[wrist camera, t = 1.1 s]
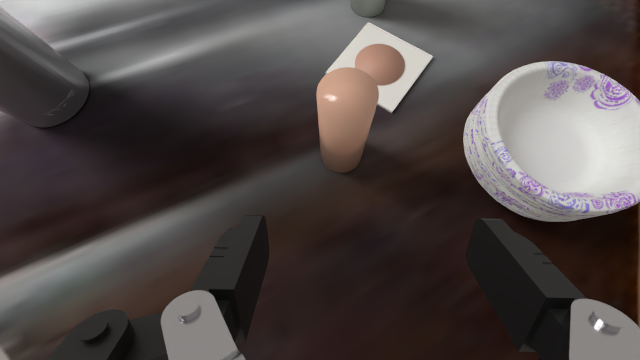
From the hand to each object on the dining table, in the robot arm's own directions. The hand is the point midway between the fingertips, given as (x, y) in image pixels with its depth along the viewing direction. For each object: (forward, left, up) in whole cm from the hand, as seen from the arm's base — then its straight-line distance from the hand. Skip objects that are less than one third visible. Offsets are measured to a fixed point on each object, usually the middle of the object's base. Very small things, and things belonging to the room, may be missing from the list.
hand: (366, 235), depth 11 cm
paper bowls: (+10, +21, -20) cm, 30 cm away
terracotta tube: (-7, +10, -20) cm, 23 cm away
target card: (-10, +23, -20) cm, 31 cm away
